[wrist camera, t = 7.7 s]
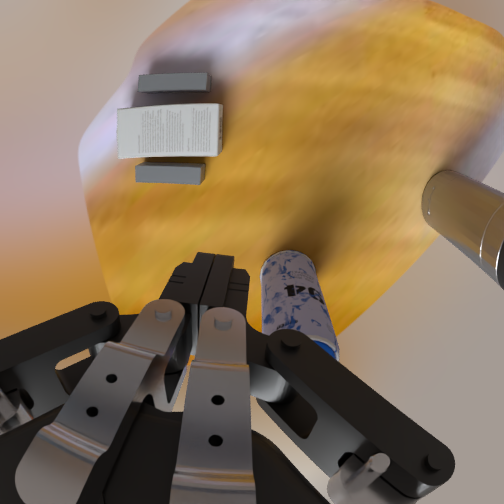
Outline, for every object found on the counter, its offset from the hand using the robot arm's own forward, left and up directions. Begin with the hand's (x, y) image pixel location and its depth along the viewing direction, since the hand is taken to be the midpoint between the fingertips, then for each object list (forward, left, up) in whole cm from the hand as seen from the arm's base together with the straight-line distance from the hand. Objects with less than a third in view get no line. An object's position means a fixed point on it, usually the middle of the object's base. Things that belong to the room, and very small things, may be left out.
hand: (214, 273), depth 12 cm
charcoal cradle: (+9, -5, -26) cm, 27 cm away
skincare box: (+3, -5, -24) cm, 24 cm away
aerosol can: (-7, +14, -26) cm, 30 cm away
